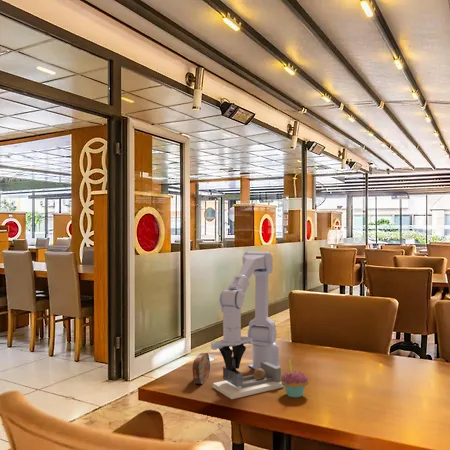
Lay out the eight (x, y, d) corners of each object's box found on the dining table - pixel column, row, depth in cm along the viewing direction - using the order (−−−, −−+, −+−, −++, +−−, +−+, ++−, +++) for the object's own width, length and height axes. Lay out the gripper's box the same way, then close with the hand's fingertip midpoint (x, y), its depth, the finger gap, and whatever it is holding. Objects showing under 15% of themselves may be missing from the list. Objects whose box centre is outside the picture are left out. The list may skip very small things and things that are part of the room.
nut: (261, 377, 157) (261, 365, 157) (267, 381, 153) (267, 369, 153) (251, 379, 155) (251, 367, 155) (257, 383, 151) (257, 371, 151)
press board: (262, 376, 162) (262, 359, 162) (283, 387, 152) (283, 369, 152) (213, 387, 152) (212, 369, 152) (231, 399, 142) (231, 379, 142)
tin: (200, 387, 152) (200, 362, 152) (191, 387, 153) (190, 361, 153) (210, 373, 167) (210, 350, 167) (202, 372, 168) (202, 349, 168)
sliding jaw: (228, 377, 153) (228, 353, 153) (243, 385, 146) (242, 360, 146) (222, 378, 152) (222, 354, 152) (236, 387, 144) (236, 361, 144)
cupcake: (291, 401, 139) (290, 362, 139) (275, 392, 147) (275, 355, 147) (313, 396, 143) (313, 358, 143) (297, 388, 151) (297, 351, 151)
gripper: (218, 332, 142) (219, 375, 142) (257, 326, 149) (258, 368, 149) (207, 327, 148) (208, 369, 148) (245, 322, 155) (246, 362, 155)
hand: (232, 368), depth 149 cm, fingers closed on sliding jaw, 2 cm apart
